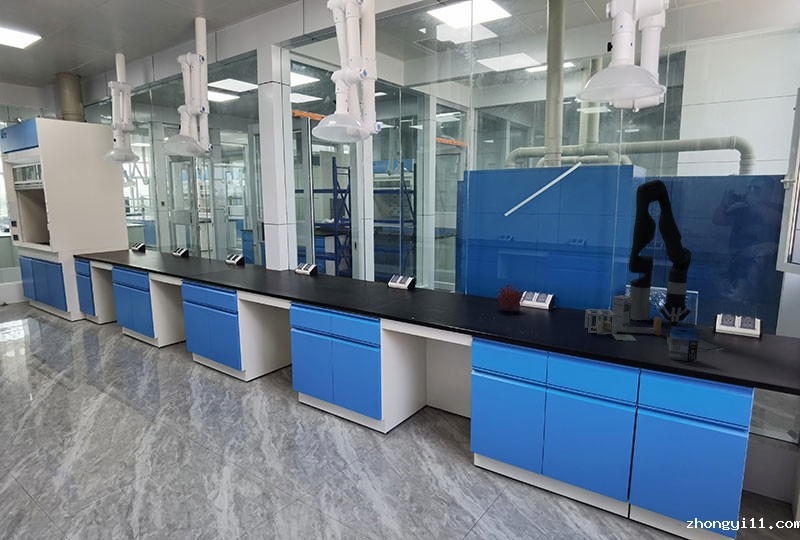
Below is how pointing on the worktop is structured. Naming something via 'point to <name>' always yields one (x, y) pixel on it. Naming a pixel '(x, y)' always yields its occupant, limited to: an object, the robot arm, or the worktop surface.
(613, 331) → the gray angular frame
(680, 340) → the label tape box
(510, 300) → the virus model
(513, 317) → the worktop surface
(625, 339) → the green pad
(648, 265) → the robot arm
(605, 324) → the beech block
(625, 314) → the syrup box
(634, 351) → the worktop surface
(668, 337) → the security device
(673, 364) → the worktop surface
